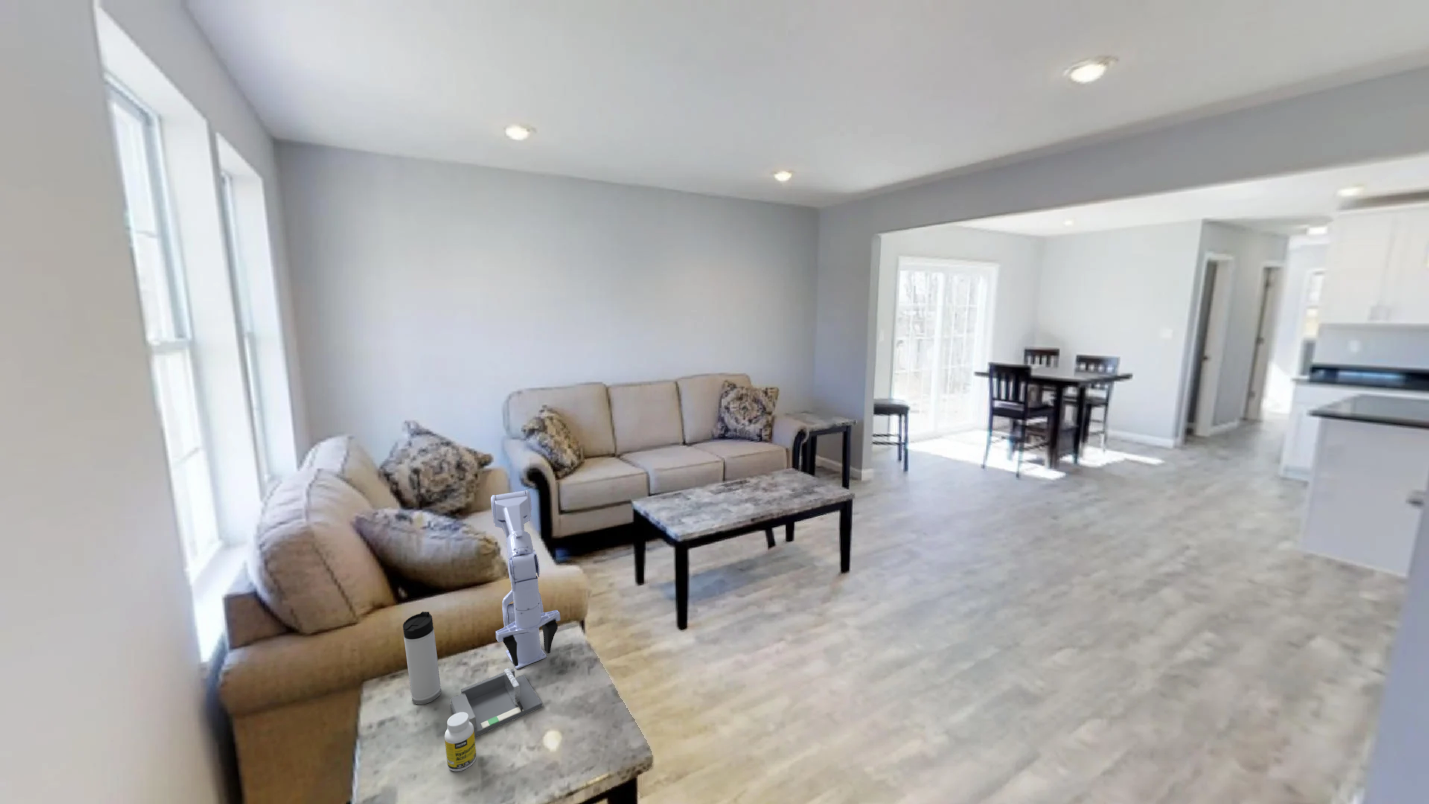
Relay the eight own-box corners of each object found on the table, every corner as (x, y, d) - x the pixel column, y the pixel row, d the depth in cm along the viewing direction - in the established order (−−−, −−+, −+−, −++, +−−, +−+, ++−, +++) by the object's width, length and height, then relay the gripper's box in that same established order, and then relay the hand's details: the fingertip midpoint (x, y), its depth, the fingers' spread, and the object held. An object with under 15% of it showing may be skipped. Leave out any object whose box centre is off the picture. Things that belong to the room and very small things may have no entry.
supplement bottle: (456, 777, 109) (451, 732, 108) (442, 764, 112) (437, 721, 111) (482, 759, 113) (477, 716, 112) (468, 747, 117) (463, 705, 115)
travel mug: (447, 686, 136) (438, 611, 133) (431, 705, 130) (421, 626, 126) (423, 685, 137) (414, 610, 134) (406, 704, 130) (395, 626, 127)
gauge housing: (450, 708, 128) (448, 692, 128) (524, 678, 138) (522, 663, 138) (463, 741, 118) (462, 725, 117) (542, 706, 128) (541, 691, 127)
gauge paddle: (505, 687, 133) (503, 669, 132) (510, 685, 134) (508, 667, 133) (519, 712, 125) (517, 693, 124) (524, 709, 125) (522, 691, 125)
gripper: (500, 622, 122) (505, 678, 124) (563, 601, 130) (567, 653, 132) (491, 609, 127) (496, 663, 129) (552, 589, 136) (556, 640, 138)
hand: (531, 657), depth 131 cm, fingers open, 7 cm apart
